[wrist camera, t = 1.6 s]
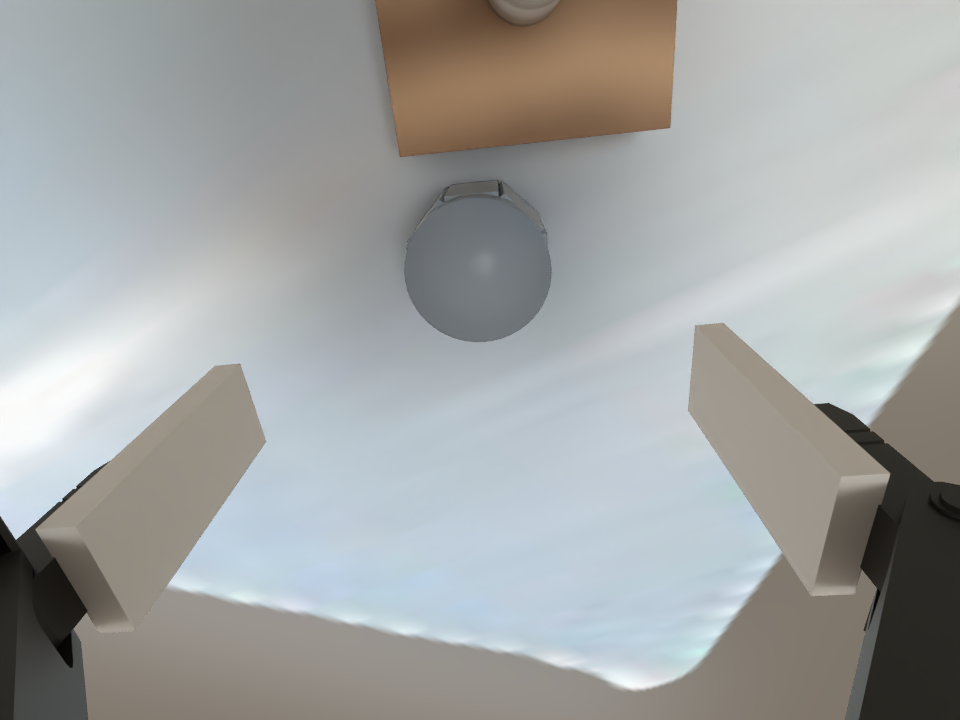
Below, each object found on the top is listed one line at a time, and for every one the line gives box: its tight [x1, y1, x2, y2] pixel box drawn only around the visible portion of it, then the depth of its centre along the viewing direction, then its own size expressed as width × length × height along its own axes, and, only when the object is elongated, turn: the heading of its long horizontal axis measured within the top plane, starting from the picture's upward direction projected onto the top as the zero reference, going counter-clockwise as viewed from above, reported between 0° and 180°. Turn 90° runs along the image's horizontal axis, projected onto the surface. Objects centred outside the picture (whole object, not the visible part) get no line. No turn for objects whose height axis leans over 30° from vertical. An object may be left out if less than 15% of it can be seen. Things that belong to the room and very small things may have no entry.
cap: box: [405, 180, 551, 342], centre depth 27 cm, size 7×7×6 cm
